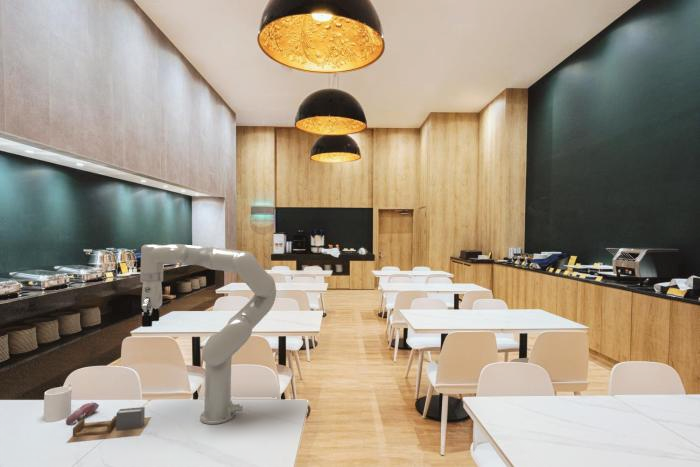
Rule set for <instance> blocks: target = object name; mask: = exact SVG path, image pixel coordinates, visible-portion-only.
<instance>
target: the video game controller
mask: <svg viewBox="0 0 700 467" xmlns="http://www.w3.org/2000/svg"><path fill="white" fill-rule="evenodd" d="M99 406H100V405H99V404H98V403H97V402H94V401H91V402H87V403H84V404H82V405H81V406H80V407H78V408H77V409H75V410H74V411H73V412H72V413H71V415H70V416H69V417H68V418H66V419H65V423H66V424H67V425H71V424H74V422H76V421H77V422H80V421H81V420H82V419H85V417H88V416H91V415H92V414H93V413H94V412H95V411H97V409H98V408H99Z"/></svg>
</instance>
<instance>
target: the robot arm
mask: <svg viewBox="0 0 700 467" xmlns="http://www.w3.org/2000/svg"><path fill="white" fill-rule="evenodd" d="M140 248H141V249H140V278H139V279H140V280H139V281H140V283H142V290H141V309H142V312H141V327H142V328H146V327H147V328H148V327H150V328H151V327H152V326H153V322H159V321H160V307H161V306H162V305H163V286H162V282H164V264H167V265H177V264H185V265H186V264H187V265H194V266H201V267H204V268H206V269H209V270H213V271H214V270H215V271H225V272H231V273H236V274H237V275H238V276H239V278H240V279H241V280H242V281H243V282H244V284H245V285H247V286H248V288H249V289H250V290H251V291H252V292H253V297H252V298H251V299H250V300H249V301H248V302H247V303H246V304H245V305H244V306H243V307H242V308H241V309H240V310H239V311H238V312H237V313H236V314H234V315H233V316H231V317H230V319H229V320H228V322H227V324H226V325H225V326H224V327H223V328H222V329H221V330H220V331H219V332H217V333H214V334H212V335H211V336H210V337H209V338H208V339H207V340H206V343H205V344H204V347H203V348H202V352H201V354H202V355H201V356H202V360H203V362H204V363H205V365H204V410H203V412H201V414H200V415H199V420H200V422H201V423H203V424H205V425H217V424H222V423H226V422H228V421H230V420H232V419H233V418H234V417H235V414H236V412H243V410H244V409H243V408H244V406H243V405H241V404H240V403H238V404H234V403H233V401H232V400H231V398H232V397H231V396H232V391H231V390H232V356H234V355H235V354H236V353H237V352H238V351H239V350H240V349H241V348H242V347H243V346H244V345H245V344H246V343H247V342H248V341H249V339H250V338H251V336H252V332H253V329H254V328H255V327H256V326H257V325H258V324H259V323H260V322H261V321H262V320H263V318H264V317H265V316H267V315H268V313H269V312H270V311H271V309H272V308H273V306H274V303H275V301H276V299H277V298H276V297H277V287H276V286H277V285H276V281H275V279H274V276H272V275H271V274H269V273H268V272H267V271H266V269H264V267H262V265H261V264H260V263H259V261H258V260H257V258H256V257H255V255H254V254H253V253H252V252H250V251H244V250H238V249H229V248H222V247H221V248H220V247H215V246H214V247H212V246H211V247H208V246H207V247H205V246H197V245H190V244H189V245H188V244H183V243H173V244H172V243H170V244H164V245H161V244H143V245H142V246H141V247H140Z"/></svg>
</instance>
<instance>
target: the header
mask: <svg viewBox="0 0 700 467" xmlns="http://www.w3.org/2000/svg"><path fill="white" fill-rule="evenodd" d="M151 419H152V416H148V417H144V425H143V427H142V428H141V429H131V430H120V431H116V415H115V416H114V417H113V418H112V419H111V420H104V421H95V422H85V420H86V419H85V418H82V419H80V420H79V421H78V423H76V424H75V426H73V428H72V436H71V437H70V438H69V439H68V440H67V442H66V443H65V444H70V443H80V442H90V441H98V440H110V439H118V438H127V437H128V438H129V437H139V436H141V434H142V433H143V431H144V430H145V429H146V427H147V425H148V423H149V422H150V420H151Z"/></svg>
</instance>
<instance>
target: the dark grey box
mask: <svg viewBox="0 0 700 467" xmlns="http://www.w3.org/2000/svg"><path fill="white" fill-rule="evenodd" d="M145 408H146V407H145V406H142V407H128V408H120V409H119V410H118V411H117V412H116V414H115V416H116V431H120V430H131V429H141V428H142V427H143V425H144V418H145V413H146V412H145V411H146V410H145Z"/></svg>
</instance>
